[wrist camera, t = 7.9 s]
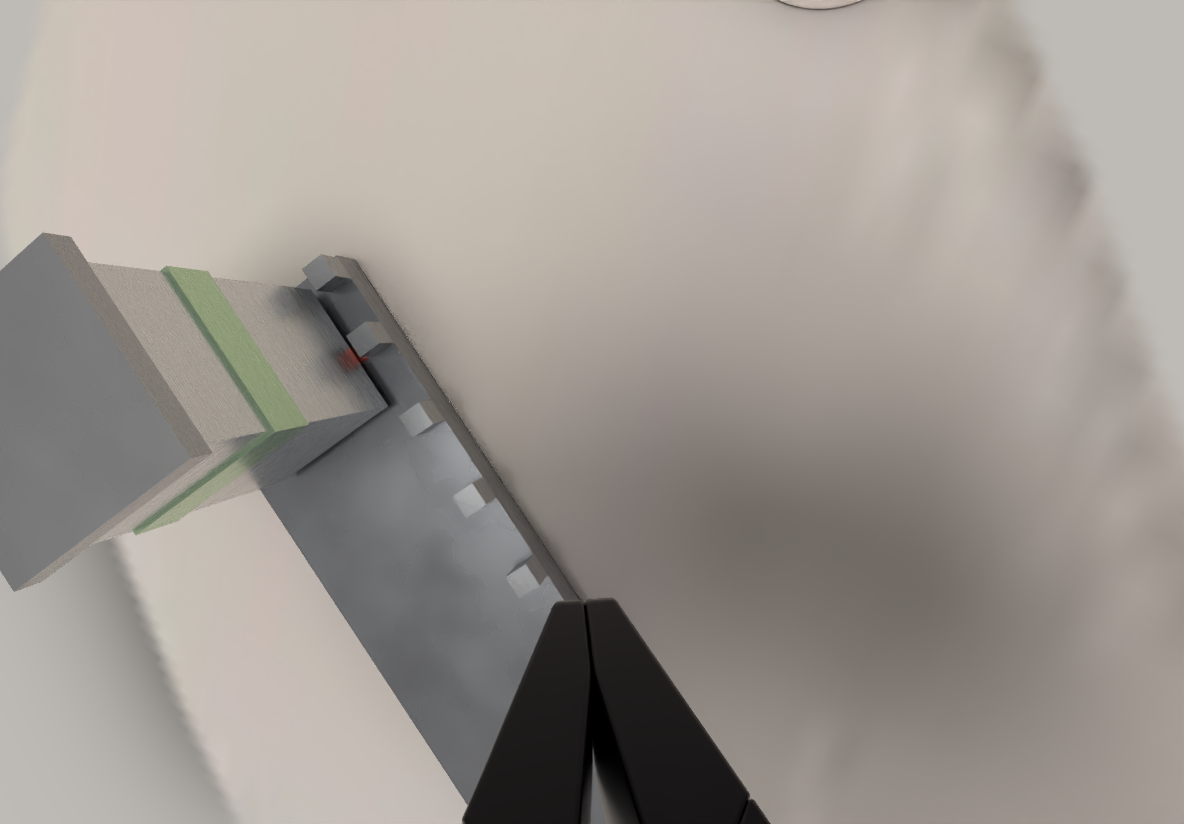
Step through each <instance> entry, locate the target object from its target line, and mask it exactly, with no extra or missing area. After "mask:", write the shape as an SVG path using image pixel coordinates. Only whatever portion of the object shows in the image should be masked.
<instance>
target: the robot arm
mask: <svg viewBox="0 0 1184 824" xmlns="http://www.w3.org/2000/svg"><path fill="white" fill-rule="evenodd" d="M593 755H594V764H595V770H596V776H597V782H598V788H599V793H600V798H601V803H602V808H603V814H604V819H605V824H770V822H769V821H768V819H767V818H766V816H765V815H764V814H763V812H762V811H761V809H760V808H759V806H758V805H757V803H756V802H755V801H754V800H753V799H750V794H749V792H748V791H747V789H746V788H745V786H744V785H743V784H742V782H741V781H740V779H739V778H738V776H737V775H736V773H735V772H734V770H733V769H732V768H731V766H730V765H729V763H728V762H727V760H726V759H725V757H724V756H723V755H722V753H721V752H720V750H719V749H718V747H717V746H716V744H715V743H714V741H713V740H712V739H711V737H710V736H709V734H708V733H707V731H706V730H705V728H704V727H703V726H702V724H701V723H700V721H699V720H698V718H697V717H696V715H695V714H694V712H693V711H692V710H691V708H690V707H689V705H688V704H687V702H686V701H685V699H684V698H683V697H682V695H681V694H680V692H679V691H678V689H677V688H676V686H675V685H674V683H673V682H672V681H671V679H670V678H669V676H668V675H667V673H666V672H665V670H664V669H663V668H662V666H661V665H660V663H659V662H658V660H657V659H656V657H655V656H654V654H653V653H652V652H651V650H650V649H649V647H648V646H647V644H646V643H645V641H644V640H643V639H642V637H641V636H640V634H639V633H638V631H637V630H636V628H635V627H634V625H633V624H632V623H631V621H630V620H629V618H628V617H627V615H626V614H625V612H624V611H623V610H622V608H621V607H620V605H619V604H618V602H617V601H616V600H615V599H613V598H599V599H589V600H587V601H586V603H585V605H584V602H583V601H581V600H568V601H557V602H555V603H554V605H553V606H552V608H551V611H550V613H549V616H548V618H547V620H546V623H545V625H544V627H543V630H542V632H541V634H540V637H539V639H538V641H537V644H536V646H535V648H534V651H533V653H532V656H531V658H530V660H529V663H528V665H527V667H526V670H525V672H524V674H523V677H522V679H521V681H520V684H519V686H518V688H517V691H516V693H515V696H514V698H513V700H512V703H511V705H510V707H509V710H508V712H507V714H506V717H505V719H504V721H503V724H502V726H501V728H500V731H499V733H498V736H497V738H496V740H495V743H494V745H493V747H492V750H491V752H490V754H489V757H488V759H487V761H486V764H485V766H484V769H483V771H482V773H481V776H480V778H479V780H478V783H477V785H476V787H475V790H474V792H473V794H472V797H471V799H470V801H469V804H468V806H467V809H466V811H465V813H464V816H463V818H462V822H463V824H591V806H592V784H593ZM749 799H750V800H749Z"/></svg>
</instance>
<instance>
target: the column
mask: <svg viewBox="0 0 1184 824" xmlns="http://www.w3.org/2000/svg"><path fill="white" fill-rule="evenodd" d="M386 407H388V405H387V404H386V402H385V401H384V399H383V398H382V396H381V395H380V393H379V392H378V390H377V389H376V387H375V386H374V384H373V383H372V381H371V380H370V378H369V377H368V375H367V374H366V372H365V370H364V369H363V367H362V366H361V364H360V363H359V361H358V360H357V358H356V357H355V355H354V354H353V352H352V351H351V349H350V348H349V346H348V345H347V343H346V342H345V340H344V339H343V337H342V336H341V334H340V333H339V331H338V330H337V328H336V327H335V325H334V324H333V322H332V320H331V319H330V317H329V316H328V314H327V313H326V311H325V310H324V308H323V307H322V305H321V304H320V302H319V301H318V299H317V298H316V296H315V295H314V293H313V292H312V290H310V289H302V288H293V287H285V286H277V285H269V284H261V283H252V282H244V281H236V280H228V279H220V278H212V276H211V275H210V273H209V272H208V271H201V270H193V269H186V268H178V267H171V266H166V267H164V268H163V269H162V270H161V271H154V270H146V269H138V268H130V267H122V266H113V265H105V264H97V263H89V262H87V261H86V259H85V258H84V256H83V255H82V253H81V252H80V250H79V249H78V247H77V246H76V244H75V242H74V241H73V239H72V238H71V237H68V236H62V235H55V234H49V233H42V234H41V235H40V236H38V237H37V238H36V239H35V240H34V241H33V242H32V243H31V244H30V245H28V246H27V247H26V248H25V249H24V250H23V251H22V252H21V253H20V254H18V255H17V256H16V257H15V258H14V259H13V260H12V261H11V262H10V263H8V264H7V265H6V266H5V267H4V268H3V269H2V270H1V271H0V571H1V572H2V574H3V576H4V577H5V578H6V580H7V582H8V583H9V585H10V586H11V588H12V589H13V591H17V590H20V589H22V588H25V587H28V586H31V585H34V584H36V583H39V582H42V581H43V580H44V579H46V578H47V577H48V576H49V575H51V574H52V573H54V572H55V571H56V570H57V569H59V568H60V567H62V566H63V565H64V564H66V563H67V562H68V561H70V560H71V559H72V558H74V557H75V556H76V555H77V554H79V553H80V552H82V551H83V550H84V549H86V548H87V547H88V546H90V545H92V544H95V543H98V542H101V541H104V540H107V539H110V538H113V537H116V536H119V535H122V534H125V533H128V532H131V531H133V532H134V534H135V535H138V534H141V533H144V532H147V531H150V530H153V529H156V528H159V527H162V526H164V525H167V524H170V523H173V522H176V521H178V520H180V519H181V518H183V517H184V516H185V515H187V514H188V513H189V512H192V511H195V510H198V509H201V508H204V507H207V506H210V505H213V504H216V503H219V502H222V501H225V500H228V499H231V498H234V497H237V496H240V495H243V494H246V493H249V492H252V491H255V490H258V489H261V488H264V487H267V486H270V485H274V484H277V483H280V482H283V481H285V480H286V479H287V478H289V477H290V476H292V475H293V474H294V473H296V472H297V471H299V470H300V469H301V468H303V467H304V466H305V465H307V464H308V463H310V462H311V461H312V460H314V459H315V458H317V457H318V456H319V455H321V454H322V453H324V452H325V451H326V450H328V449H329V448H331V447H332V446H333V445H335V444H336V443H337V442H339V441H340V440H342V439H343V438H344V437H346V436H347V435H349V434H350V433H351V432H353V431H354V430H356V429H357V428H358V427H360V426H361V425H363V424H364V423H365V422H367V421H368V420H369V419H371V418H372V417H374V416H375V415H376V414H378V413H379V412H381V411H382V410H383V409H385V408H386Z"/></svg>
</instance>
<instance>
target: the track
mask: <svg viewBox="0 0 1184 824" xmlns="http://www.w3.org/2000/svg"><path fill="white" fill-rule="evenodd" d="M302 270H303V272H304V273H305V275H306V276H307V279H306V280H305V281H304V282H302V283H301V284H300V285H298V286H297V287H296V288H302V289H310V290H312V292H313V293H314V295H315V296H316V298H317V299H318V301H319V302H320V304H321V305H322V307H323V308H324V310H325V311H326V313H327V314H328V316H329V317H330V319H331V320H332V322H333V324H334V325H335V327H336V328H337V330H338V331H339V333H340V334H341V336H342V337H343V339H344V340H345V342H346V343H347V345H348V346H349V348H350V349H351V351H352V352H353V354H354V355H355V357H356V358H357V360H358V361H359V363H360V364H361V366H362V367H363V369H364V370H365V372H366V374H367V375H368V377H369V378H370V380H371V381H372V383H373V384H374V386H375V387H376V389H377V390H378V392H379V393H380V395H381V396H382V398H383V399H384V401H385V402H386V404H387V405H388V407H386V408H385V409H383V410H382V411H381V412H379V413H378V414H376V415H375V416H374V417H372V418H371V419H369V420H368V421H367V422H365V423H364V424H363V425H361V426H360V427H358V428H357V429H356V430H354V431H353V432H351V433H350V434H349V435H347V436H346V437H344V438H343V439H342V440H340V441H339V442H337V443H336V444H335V445H333V446H332V447H331V448H329V449H328V450H326V451H325V452H324V453H322V454H321V455H319V456H318V457H317V458H315V459H314V460H312V461H311V462H310V463H308V464H307V465H305V466H304V467H303V468H301V469H300V470H299V471H297V472H296V473H294V474H293V475H292V476H290V477H289V478H287V479H286V480H285V481H283V482H280V483H277V484H274V485H270V486H267V487H264V488H261V489H260V490H261V491H262V493H263V494H264V496H265V497H266V499H267V500H268V502H269V503H270V505H271V507H272V508H273V510H274V511H275V513H276V514H277V516H278V517H279V519H280V520H281V522H282V523H283V525H284V526H285V528H286V529H287V531H288V532H289V534H290V535H291V537H292V538H293V540H294V542H295V543H296V545H297V546H298V548H299V549H300V551H301V552H302V554H303V555H304V557H305V558H306V560H307V561H308V563H309V564H310V566H311V567H312V569H313V570H314V572H315V573H316V575H317V577H318V578H319V580H320V581H321V583H322V584H323V586H324V587H325V589H326V590H327V592H328V593H329V595H330V596H331V598H332V599H333V601H334V602H335V604H336V605H337V607H338V609H339V610H340V612H341V613H342V615H343V616H344V618H345V619H346V621H347V622H348V624H349V625H350V627H351V628H352V630H353V631H354V633H355V634H356V636H357V637H358V639H359V640H360V642H361V644H362V645H363V647H364V648H365V650H366V651H367V653H368V654H369V656H370V657H371V659H372V660H373V662H374V663H375V665H376V666H377V668H378V669H379V671H380V672H381V674H382V675H383V677H384V679H385V680H386V682H387V683H388V685H389V686H390V688H391V689H392V691H393V692H394V694H395V695H396V697H397V698H398V700H399V701H400V703H401V704H402V706H403V707H404V709H405V710H406V712H407V714H408V715H409V717H410V718H411V720H412V721H413V723H414V724H415V726H416V727H417V729H418V730H419V732H420V733H421V735H422V736H423V738H424V739H425V741H426V742H427V744H428V745H429V747H430V749H431V750H432V752H433V753H434V755H435V756H436V758H437V759H438V761H439V762H440V764H441V765H442V767H443V768H444V770H445V771H446V773H447V774H448V776H449V777H450V779H451V780H452V782H453V784H454V785H455V787H456V788H457V790H458V791H459V793H460V794H461V796H462V797H463V799H464V800H465V802H466V803H467V805H468V804H469V801H470V799H471V797H472V794H473V792H474V790H475V787H476V785H477V783H478V780H479V778H480V776H481V773H482V771H483V769H484V766H485V764H486V761H487V759H488V757H489V754H490V752H491V750H492V747H493V745H494V743H495V740H496V738H497V736H498V733H499V731H500V728H501V726H502V724H503V721H504V719H505V717H506V714H507V712H508V710H509V707H510V705H511V703H512V700H513V698H514V696H515V693H516V691H517V688H518V686H519V684H520V681H521V679H522V677H523V674H524V672H525V670H526V667H527V665H528V663H529V660H530V658H531V656H532V653H533V651H534V648H535V646H536V644H537V641H538V639H539V637H540V634H541V632H542V630H543V627H544V625H545V623H546V620H547V618H548V616H549V613H550V611H551V608H552V606H553V605H554V603H555V602H557V601H568V600H580V599H579V598H578V596H577V595H576V593H575V592H574V590H573V589H572V587H571V586H570V584H569V583H568V581H567V580H566V578H565V577H564V575H563V574H562V572H561V571H560V569H559V568H558V566H557V565H556V563H555V562H554V560H553V559H552V557H551V556H550V554H549V553H548V551H547V550H546V548H545V546H544V545H543V543H542V542H541V540H540V539H539V537H538V536H537V534H536V533H535V531H534V530H533V528H532V527H531V525H530V524H529V522H528V521H527V519H526V518H525V516H524V515H523V513H522V512H521V510H520V509H519V507H518V506H517V504H516V503H515V501H514V500H513V498H512V497H511V495H510V494H509V492H508V491H507V489H506V487H505V486H504V484H503V483H502V481H501V480H500V478H499V477H498V475H497V474H496V472H495V471H494V469H493V468H492V466H491V465H490V463H489V462H488V460H487V459H486V457H485V456H484V454H483V453H482V451H481V450H480V448H479V447H478V445H477V444H476V442H475V441H474V439H473V438H472V436H471V435H470V433H469V432H468V430H467V428H466V427H465V425H464V424H463V422H462V421H461V419H460V418H459V416H458V415H457V413H456V412H455V410H454V409H453V407H452V406H451V404H450V403H449V401H448V400H447V398H446V397H445V395H444V394H443V392H442V391H441V389H440V388H439V386H438V385H437V383H436V382H435V380H434V379H433V377H432V376H431V374H430V372H429V371H428V369H427V368H426V366H425V365H424V363H423V362H422V360H421V359H420V357H419V356H418V354H417V353H416V351H415V350H414V348H413V347H412V345H411V344H410V342H409V341H408V339H407V338H406V336H405V335H404V333H403V332H402V330H401V329H400V327H399V326H398V324H397V323H396V321H395V320H394V318H393V317H392V315H391V313H390V312H389V310H388V309H387V307H386V306H385V304H384V303H383V301H382V300H381V298H380V297H379V295H378V294H377V292H376V291H375V289H374V288H373V286H372V285H371V283H370V282H369V280H368V279H367V277H366V276H365V274H364V273H363V271H362V270H361V268H360V267H359V265H358V264H357V262H356V261H355V260H354V259H350V258H345V257H341V256H335V257H330V256H326V255H320V256H319V257H317V258H316V259H315V260H314V261H312V262H311V263H310V264H308V265H307V266H306V267H305V268H303V269H302ZM591 824H605V819H604V814H603V808H602V803H601V798H600V793H599V788H598V782H597V776H596V770H595V764H594V755H593V784H592V806H591Z"/></svg>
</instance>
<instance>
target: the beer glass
mask: <svg viewBox="0 0 1184 824" xmlns="http://www.w3.org/2000/svg"><path fill="white" fill-rule="evenodd" d="M779 1H781V2H784V3H786V4H789V5H793V6H797V7H802V8H809V9H829V8H836V7H841V6H846V5H850V4H853V3H856V2H858V1H861V0H779Z"/></svg>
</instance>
